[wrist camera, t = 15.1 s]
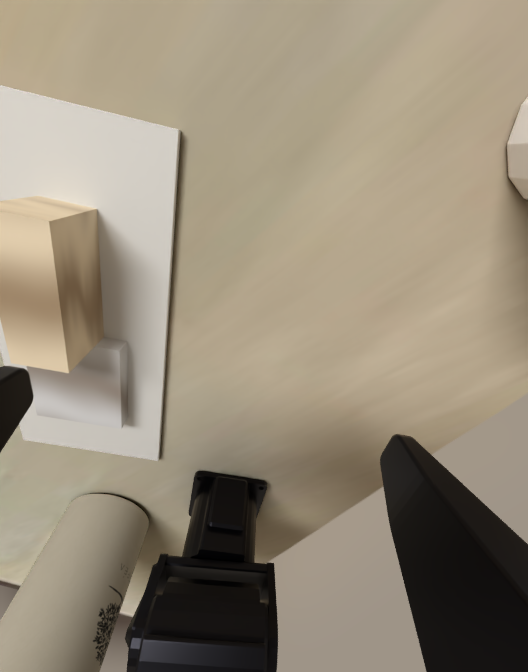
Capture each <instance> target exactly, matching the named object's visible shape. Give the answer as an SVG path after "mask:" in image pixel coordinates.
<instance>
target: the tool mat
mask: <svg viewBox="0 0 528 672" xmlns="http://www.w3.org/2000/svg"><path fill="white" fill-rule="evenodd" d="M180 133H181V130H178V129H174V128H170V127H166V126H162V125H158V124H154V123H150V122H146V121H142V120H138V119H134V118H130V117H126V116H122V115H118V114H114V113H110V112H106V111H102V110H98V109H94V108H90V107H86V106H82V105H78V104H74V103H70V102H66V101H62V100H58V99H54V98H50V97H46V96H42V95H38V94H34V93H30V92H26V91H22V90H18V89H14V88H10V87H6V86H2V85H0V201H4V200H11V199H18V198H25V197H32V196H42V197H46V198H51V199H55V200H60V201H64V202H69V203H73V204H78V205H82V206H87V207H91V208H96V209H97V219H98V237H99V255H100V273H101V290H102V308H103V326H104V337H108V338H113V339H119V340H124V341H127V359H128V419H127V420H126V422H125V424H124V426H123V427H122V429H118V428H112V427H106V426H100V425H94V424H88V423H82V422H75V421H69V420H63V419H57V418H51V417H45V416H39V415H37V413H36V408H35V403H34V399H33V402H32V404H31V406H30V408H29V409H28V411H27V412H26V414H25V415H24V417H23V418H22V420H21V422H20V423H19V425H20V428H21V432H22V436H23V440H28V441H34V442H41V443H47V444H53V445H60V446H66V447H73V448H79V449H85V450H92V451H98V452H105V453H111V454H117V455H124V456H130V457H136V458H143V459H149V460H156V461H158V460H159V457H160V443H161V428H162V412H163V397H164V381H165V366H166V350H167V334H168V319H169V303H170V288H171V272H172V257H173V241H174V226H175V210H176V195H177V179H178V164H179V148H180ZM0 350H1V354H2V358H3V362H4V366H14V367H20V368H24V369H26V370H27V366H24V365H19V364H13V363H11V361H10V357H9V353H8V349H7V345H6V341H5V336H4V332H3V328H2V324H1V320H0Z"/></svg>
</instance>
